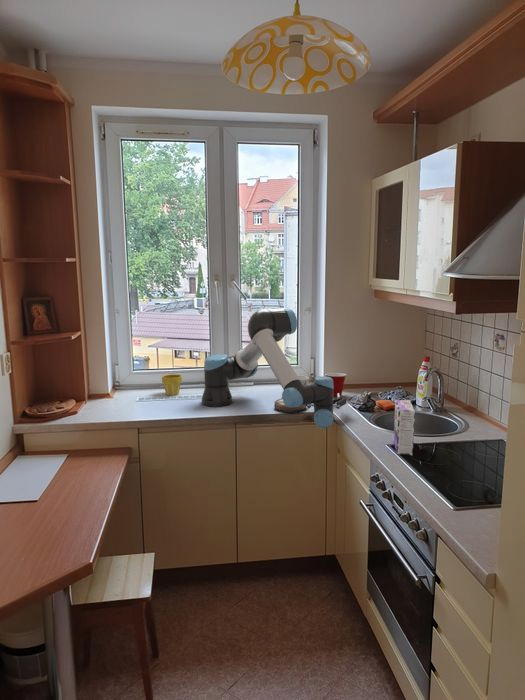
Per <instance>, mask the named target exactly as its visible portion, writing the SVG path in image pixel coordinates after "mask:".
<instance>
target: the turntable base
mask: <svg viewBox="0 0 525 700" xmlns="http://www.w3.org/2000/svg"><path fill="white" fill-rule="evenodd" d="M277 410H279V409H277ZM303 410H304V409H302V410H297V411H298V412H301V411H303ZM279 411H281V412H286V413H296V412H297V411H284V410H279Z"/></svg>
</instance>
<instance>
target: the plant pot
mask: <svg viewBox="0 0 525 700" xmlns="http://www.w3.org/2000/svg"><path fill="white" fill-rule="evenodd" d="M161 382H162V384H163V387H164V391H165V395H166V396H170V395H173V396H178V395H179V393H180V389H181V383H183V376H182V375H181V374H176V373H174V374H173V373H171V374H165V375H162V376H161Z"/></svg>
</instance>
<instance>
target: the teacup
mask: <svg viewBox="0 0 525 700" xmlns="http://www.w3.org/2000/svg"><path fill="white" fill-rule="evenodd" d="M296 375H297V376H298V378H299V379H300V381H301V382H302V384H303V385H309V382H310V377H309V376H307V375H302V374H300V375H299V374H296Z"/></svg>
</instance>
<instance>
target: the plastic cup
mask: <svg viewBox="0 0 525 700" xmlns="http://www.w3.org/2000/svg"><path fill="white" fill-rule="evenodd" d="M325 376H326V377H330V378H332V379H333V388H334V389H333V397H337V394H338V393H339V396H340V397H342V394H343V389H344V385H345V380H346V376H347V374H346V373H344V372H343V373H341V372H328V373H325Z"/></svg>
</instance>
